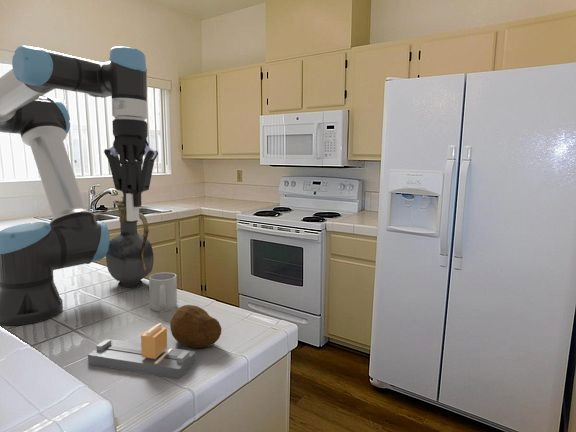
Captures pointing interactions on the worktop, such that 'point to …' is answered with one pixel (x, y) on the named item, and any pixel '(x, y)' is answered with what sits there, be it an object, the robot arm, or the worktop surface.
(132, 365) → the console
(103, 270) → the worktop surface
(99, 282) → the worktop surface
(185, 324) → the potato
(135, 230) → the pitcher
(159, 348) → the slider
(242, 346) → the worktop surface
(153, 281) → the cup
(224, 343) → the worktop surface
